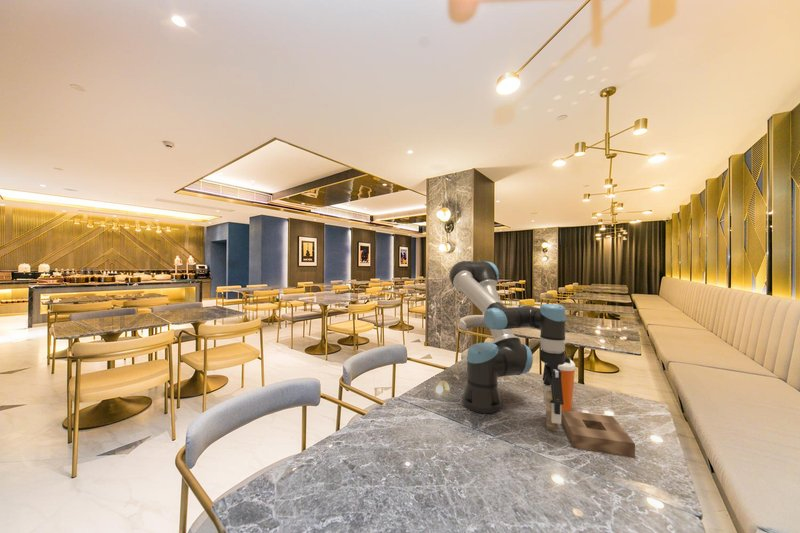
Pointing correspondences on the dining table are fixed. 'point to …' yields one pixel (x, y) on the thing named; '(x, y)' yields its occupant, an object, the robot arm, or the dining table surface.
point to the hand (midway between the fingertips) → (551, 412)
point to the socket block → (597, 433)
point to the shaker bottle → (567, 383)
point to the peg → (549, 412)
